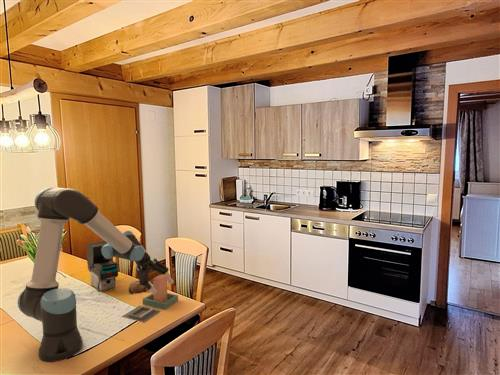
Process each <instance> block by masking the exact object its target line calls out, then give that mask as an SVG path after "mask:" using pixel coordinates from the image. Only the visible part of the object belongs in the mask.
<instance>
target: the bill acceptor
mask: <svg viewBox="0 0 500 375" xmlns="http://www.w3.org/2000/svg"><path fill="white" fill-rule="evenodd" d="M105 244H108V243H107V242H106V241H104V240H102V241H95V242H89V243H87V244H86V248H87V250H86V257H87V260H86V261H87V271H88V272H90V285H91V286H93V287H95V289H97V290H96V291H97V292H107V291H111V290H114V289H115V288H116V287H117V284H116V283H117V280H116V278H118V276H119V264H118V262H115V261H114V260H111V258H110V259H106V258H105V257H104V256H103V255H102V251H101V249H102V247H103V246H104V245H105Z"/></svg>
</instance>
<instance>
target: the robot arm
mask: <svg viewBox="0 0 500 375" xmlns="http://www.w3.org/2000/svg"><path fill="white" fill-rule="evenodd" d="M34 206H35V208H36V210H37V211H38V213H37V219H38V221H40V225H39V226H40V228H39V233H38V238H37V244H36V251H35V257H34V262H33V268H32V275H31V280H29V281H28V282H27V283H26V286H25V288H24V289H23V291H22V292H20V294H19V296H18V298H17V307H18V309H19V311H20V312H21V313H22V314H24V315H25V316H26V317H29V318H33V319H34V320H36V321H38V322H40V323H41V324H42V338H41V342H40V346H39V348H38V358H39V359H40V360H42V361H44V362H57V361H62V360H65V359H68V358H70V357H72V356H74V355H76V354H77V353H78V352H79V351H80V350H81V349H82V348H83V344H84V343H83V336H82V335H81V333H80V330H79V328H78V322H77V321H78V320H77V318H78V317H77V297H76V294H75V292H74V291H73V290H71V289H70V288H69V289H68V288H60V287H59V285H60V284H59V282H58V281H57V280H56V279H57V272H58V267H59V266H58V265H59V260H60V259H59V258H60V254H61V247H62V242H63V236H64V235H63V234H64V229H65V224H66V223H68V221H70V219H72V220H74V221H76V222H77V223H78V224H80V225H85V226H86V227H87V228H89V229H90V230H91V231H92V232H93V233H94V234H96V235H97V236H98V237H99V238H101V239H102V241H106V242H107V243H108V244H105V245H104V246H103V247H102V249H101V251H102V255H103V256H104V257H105V258H106V259H110V260H111V259H113V258H118V259H123V260H128V261H131V262H134V263H135V264H136V265H137V267H136V268H135V271H136V272H137V277H138V280H139V282H140V285H143V286H146V287H147V290H149V291H150V293H151V294H153V295H154V294H155V293H156V292H157V291H156V289H155V288H154V286H153V283H152V282H151V281H149V272H150V271H155V272H157V273H160V274H162V275H167V284H169V286H171V285H172V284H173V283H174V282H175V281H174V280H173V279H172V277H171V275H170V273H169V268H168V267H167V266H166V265H164V264H163V263H161V261H159V260H158V259H157V258H153V260H152V259H151V256H150V255H149V253H148V252H147V250H146V249H145V247H144V246H143V245H142V243H141V242H140V241H139V239H138V238H137V237H136V235H135V234H134V233H133V232H132V231H131V230H125V231H124V232H122V231H121V230H119V229H118V227H116V226H115V225H114V224H113V223H112V222H111V221H110V220H109V219H108V218H106V216H104V215H103V214H102V213H101V212H100V210H99V207H98V206H97V205H96V204H95V203H94V202H92V200H90V199H89V198H88V197H87V196H86V195H84V194H83V193H81V192H80V191H79V190H76V189H73V188H65V187H58V186H53V187H46V188H43V189H42V190H40V191H39V192H38V193H37V195H36V196H35V198H34Z"/></svg>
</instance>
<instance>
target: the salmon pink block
mask: <svg viewBox="0 0 500 375" xmlns="http://www.w3.org/2000/svg"><path fill="white" fill-rule="evenodd" d="M152 285H153V286H154V288H155V289H156V291H157V292H156V293H155V294H154V295H153V296H154V301H159V302H163V303H165V302H166V301H167V293H168V281H167V275H164V274H162V273H160V274H158V275H156V276H154V277H153V278H152Z"/></svg>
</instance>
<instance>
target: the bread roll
mask: <svg viewBox="0 0 500 375" xmlns="http://www.w3.org/2000/svg"><path fill="white" fill-rule="evenodd" d="M147 290H148V289H147V287H146V286H143V285H140V282H139V279H138V280H133V281H132V282H130V283H129V286H128V294H130V295H134V294H140V293H145V292H146V291H147Z"/></svg>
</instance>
